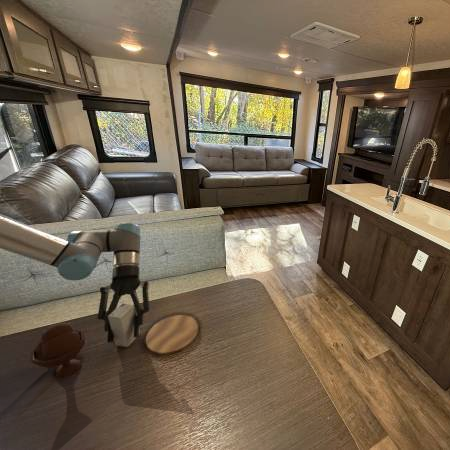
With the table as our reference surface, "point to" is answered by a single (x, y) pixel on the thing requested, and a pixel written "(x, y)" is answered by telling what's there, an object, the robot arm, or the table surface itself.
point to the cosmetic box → (123, 324)
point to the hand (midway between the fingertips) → (123, 339)
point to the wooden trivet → (172, 334)
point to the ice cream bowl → (59, 349)
